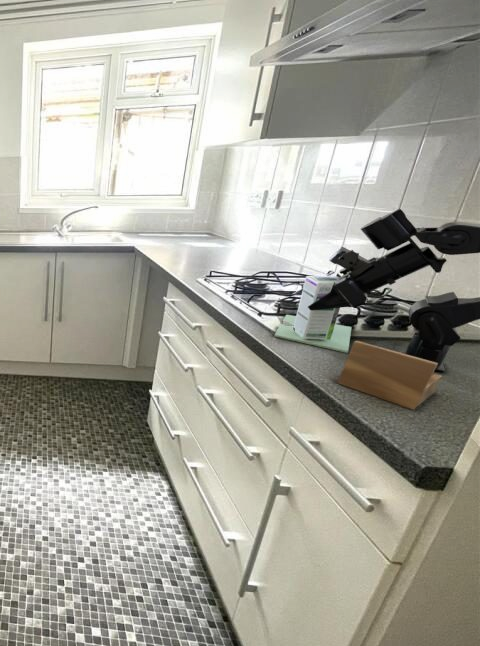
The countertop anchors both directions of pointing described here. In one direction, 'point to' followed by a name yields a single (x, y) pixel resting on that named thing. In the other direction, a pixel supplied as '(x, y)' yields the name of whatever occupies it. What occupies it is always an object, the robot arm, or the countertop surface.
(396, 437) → the countertop surface
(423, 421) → the countertop surface
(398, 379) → the stand
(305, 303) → the syrup box
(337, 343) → the mat
